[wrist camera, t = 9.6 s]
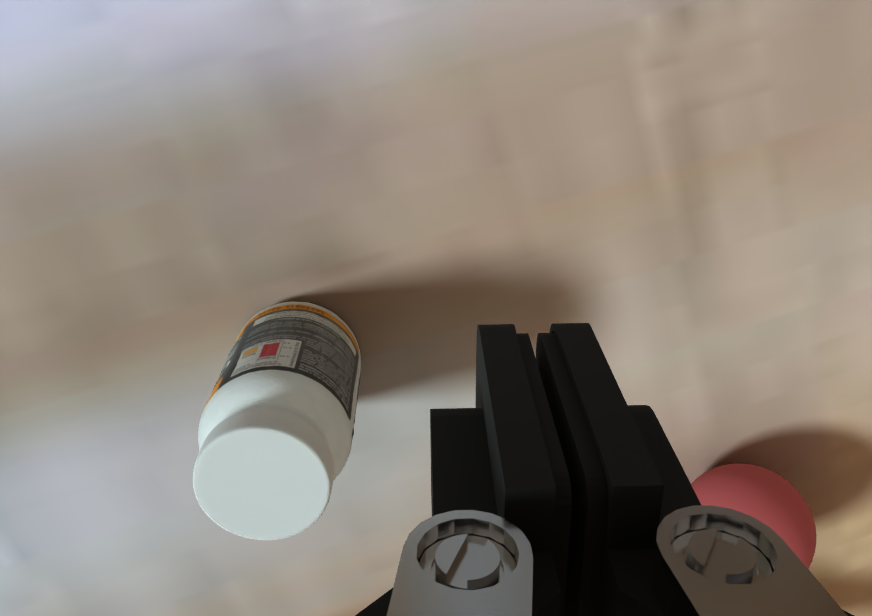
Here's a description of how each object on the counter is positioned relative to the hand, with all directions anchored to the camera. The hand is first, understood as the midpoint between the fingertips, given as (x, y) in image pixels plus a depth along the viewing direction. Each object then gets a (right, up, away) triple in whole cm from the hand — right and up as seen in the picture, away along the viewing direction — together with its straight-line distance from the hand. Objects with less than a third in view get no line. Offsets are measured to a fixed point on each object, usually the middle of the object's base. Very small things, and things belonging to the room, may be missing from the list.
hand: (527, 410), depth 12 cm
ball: (+13, -9, +24) cm, 29 cm away
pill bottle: (-8, -1, +24) cm, 25 cm away
